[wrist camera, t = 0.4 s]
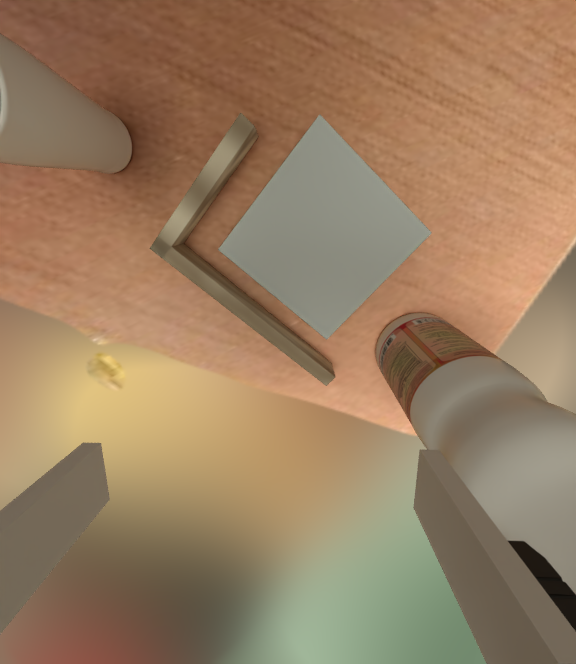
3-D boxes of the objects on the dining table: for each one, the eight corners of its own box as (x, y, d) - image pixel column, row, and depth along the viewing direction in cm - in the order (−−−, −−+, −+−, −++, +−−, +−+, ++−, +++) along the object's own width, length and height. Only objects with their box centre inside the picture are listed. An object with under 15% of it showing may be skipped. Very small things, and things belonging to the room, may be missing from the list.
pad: (319, 115, 28) (319, 114, 28) (430, 232, 32) (431, 232, 31) (218, 249, 33) (218, 249, 32) (326, 338, 36) (326, 339, 36)
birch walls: (246, 124, 28) (240, 112, 25) (411, 285, 34) (424, 292, 31) (163, 245, 32) (149, 248, 29) (323, 371, 38) (326, 385, 35)
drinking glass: (151, 177, 30) (30, 145, 16) (86, 186, 30) (-88, 163, 16) (129, 95, 28) (-35, -26, 14) (59, 106, 28) (-171, -1, 14)
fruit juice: (435, 295, 34) (900, 555, 8) (462, 360, 37) (866, 701, 11) (360, 334, 36) (545, 647, 10) (391, 392, 39) (596, 753, 13)
